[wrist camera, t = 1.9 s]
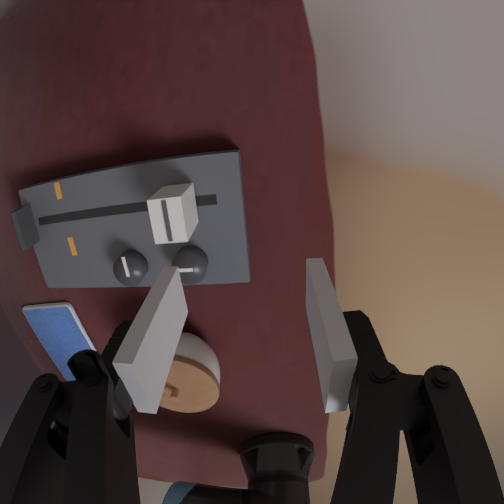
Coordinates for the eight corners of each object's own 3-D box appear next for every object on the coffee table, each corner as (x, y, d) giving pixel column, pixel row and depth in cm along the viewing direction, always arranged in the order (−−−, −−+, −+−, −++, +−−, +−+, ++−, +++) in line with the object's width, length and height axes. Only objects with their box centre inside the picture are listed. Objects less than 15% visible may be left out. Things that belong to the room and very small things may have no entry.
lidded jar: (153, 310, 39) (130, 359, 31) (231, 329, 40) (224, 382, 31) (150, 363, 44) (133, 410, 35) (217, 379, 44) (210, 429, 36)
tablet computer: (123, 387, 48) (120, 392, 46) (73, 384, 49) (70, 388, 48) (72, 299, 40) (68, 303, 38) (23, 304, 41) (19, 308, 40)
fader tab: (198, 221, 30) (187, 242, 26) (170, 224, 31) (154, 244, 26) (193, 182, 29) (180, 196, 24) (163, 186, 29) (146, 200, 24)
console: (250, 271, 36) (249, 297, 31) (56, 279, 38) (37, 299, 33) (239, 149, 30) (235, 155, 25) (29, 185, 32) (3, 197, 27)
